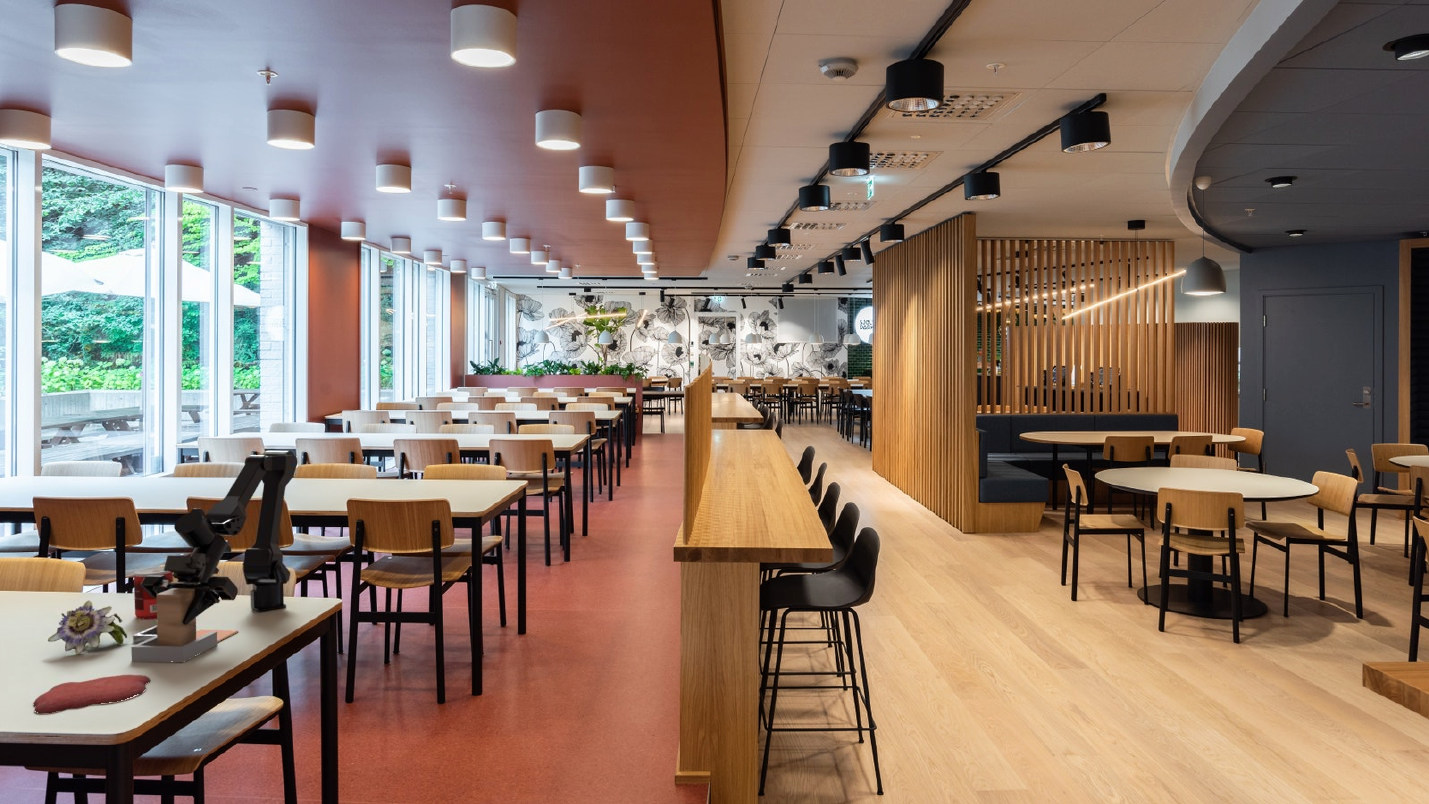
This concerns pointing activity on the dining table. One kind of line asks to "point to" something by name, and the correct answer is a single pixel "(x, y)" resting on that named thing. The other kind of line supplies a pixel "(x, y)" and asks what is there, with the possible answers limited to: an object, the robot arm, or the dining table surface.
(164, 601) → the walnut block
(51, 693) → the patty
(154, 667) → the dining table surface
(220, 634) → the pad
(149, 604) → the canned food
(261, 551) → the robot arm
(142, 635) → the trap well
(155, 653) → the channel
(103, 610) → the passion flower
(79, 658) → the dining table surface
